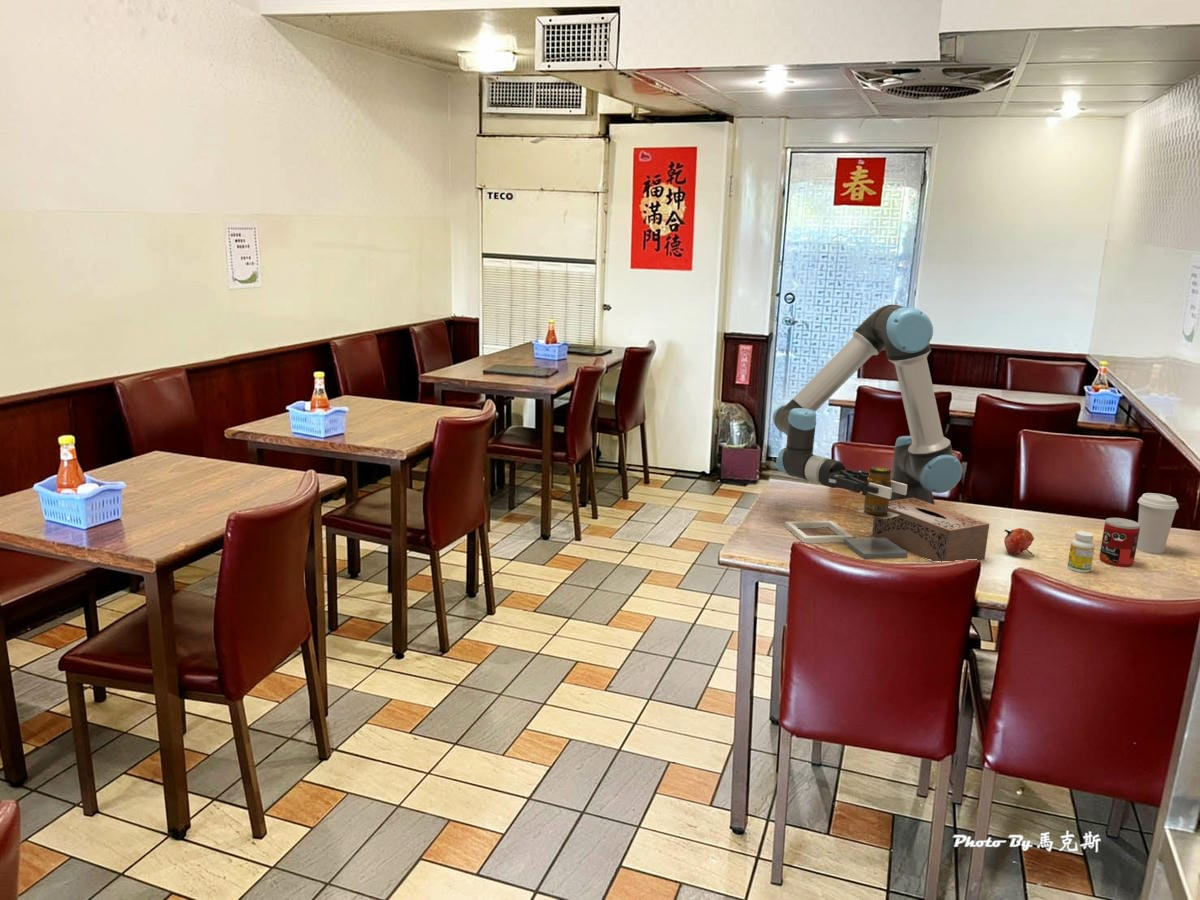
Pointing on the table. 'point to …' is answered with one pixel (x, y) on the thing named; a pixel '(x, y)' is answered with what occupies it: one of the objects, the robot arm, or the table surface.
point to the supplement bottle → (1081, 552)
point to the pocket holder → (816, 524)
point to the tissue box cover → (932, 531)
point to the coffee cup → (1155, 521)
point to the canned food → (1119, 542)
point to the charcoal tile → (875, 548)
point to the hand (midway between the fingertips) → (898, 491)
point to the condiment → (876, 503)
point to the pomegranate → (1018, 541)
